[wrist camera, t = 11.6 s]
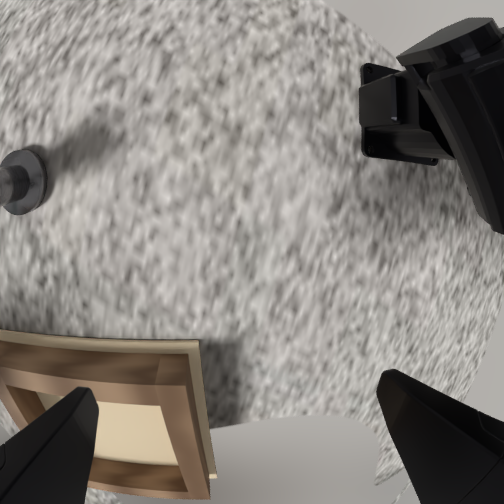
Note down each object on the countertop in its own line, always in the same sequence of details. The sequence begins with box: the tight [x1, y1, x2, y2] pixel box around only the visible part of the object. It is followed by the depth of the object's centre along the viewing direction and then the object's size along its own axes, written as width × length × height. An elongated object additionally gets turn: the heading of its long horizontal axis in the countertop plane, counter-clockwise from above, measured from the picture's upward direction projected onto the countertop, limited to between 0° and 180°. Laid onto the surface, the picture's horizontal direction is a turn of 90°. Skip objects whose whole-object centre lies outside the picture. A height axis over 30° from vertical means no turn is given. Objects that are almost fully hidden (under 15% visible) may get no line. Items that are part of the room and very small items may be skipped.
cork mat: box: [0, 329, 217, 478], centre depth 23 cm, size 20×20×1 cm
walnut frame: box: [0, 340, 210, 499], centre depth 21 cm, size 18×18×4 cm
